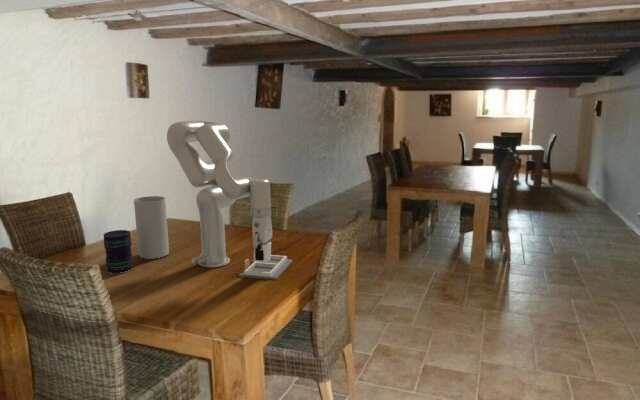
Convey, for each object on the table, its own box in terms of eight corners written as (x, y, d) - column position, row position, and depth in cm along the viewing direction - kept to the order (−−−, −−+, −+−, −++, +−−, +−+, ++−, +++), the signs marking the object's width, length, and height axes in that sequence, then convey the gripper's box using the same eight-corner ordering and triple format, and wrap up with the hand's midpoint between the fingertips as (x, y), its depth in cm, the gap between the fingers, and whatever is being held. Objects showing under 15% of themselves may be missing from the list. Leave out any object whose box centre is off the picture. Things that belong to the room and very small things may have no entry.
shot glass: (251, 262, 177) (250, 244, 176) (257, 256, 183) (256, 239, 182) (268, 263, 175) (268, 245, 174) (274, 257, 182) (273, 240, 181)
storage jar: (104, 275, 180) (100, 237, 177) (108, 266, 189) (105, 231, 186) (132, 272, 182) (128, 235, 179) (135, 264, 191) (131, 229, 188)
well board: (276, 279, 174) (276, 267, 173) (238, 276, 177) (238, 264, 176) (292, 261, 194) (292, 250, 193) (258, 259, 197) (258, 248, 196)
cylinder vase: (132, 257, 200) (127, 200, 195) (154, 249, 211) (150, 195, 206) (153, 261, 195) (148, 203, 190) (175, 253, 206) (171, 197, 201)
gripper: (262, 217, 167) (264, 265, 170) (277, 207, 183) (279, 251, 187) (242, 216, 168) (245, 264, 172) (259, 206, 185) (261, 250, 188)
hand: (262, 256), depth 179 cm, fingers closed on shot glass, 6 cm apart
